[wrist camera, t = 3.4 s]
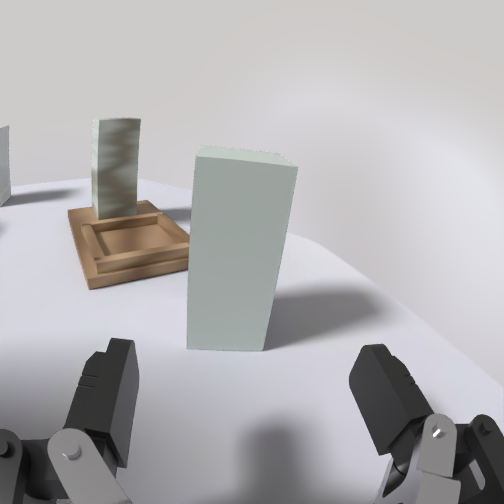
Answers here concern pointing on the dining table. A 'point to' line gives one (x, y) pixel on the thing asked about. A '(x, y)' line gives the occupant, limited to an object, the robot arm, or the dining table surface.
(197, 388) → the dining table surface
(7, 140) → the small box
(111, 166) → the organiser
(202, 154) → the sage block
